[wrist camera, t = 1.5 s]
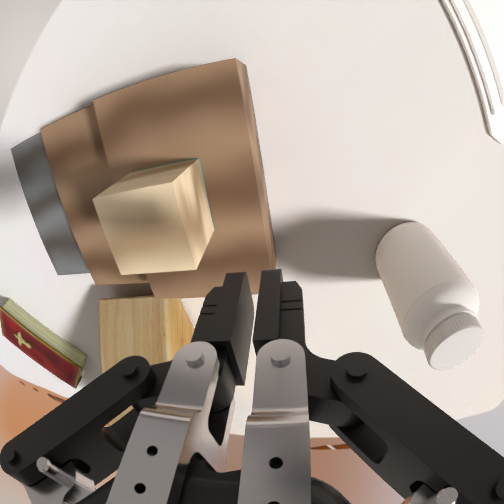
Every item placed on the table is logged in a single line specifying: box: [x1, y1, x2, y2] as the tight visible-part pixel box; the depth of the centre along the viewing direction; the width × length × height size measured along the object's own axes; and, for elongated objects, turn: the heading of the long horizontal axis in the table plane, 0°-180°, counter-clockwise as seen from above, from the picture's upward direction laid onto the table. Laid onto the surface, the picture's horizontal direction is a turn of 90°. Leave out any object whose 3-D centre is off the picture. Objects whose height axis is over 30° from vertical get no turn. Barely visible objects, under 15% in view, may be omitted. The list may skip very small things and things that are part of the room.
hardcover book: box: [0, 298, 87, 389], centre depth 47 cm, size 12×21×4 cm, turn 56°
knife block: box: [99, 295, 194, 471], centre depth 32 cm, size 11×35×31 cm, turn 12°
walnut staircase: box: [11, 58, 276, 299], centre depth 28 cm, size 20×32×6 cm, turn 99°
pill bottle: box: [375, 222, 484, 370], centre depth 25 cm, size 8×8×15 cm
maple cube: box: [92, 158, 215, 275], centre depth 21 cm, size 6×6×6 cm
